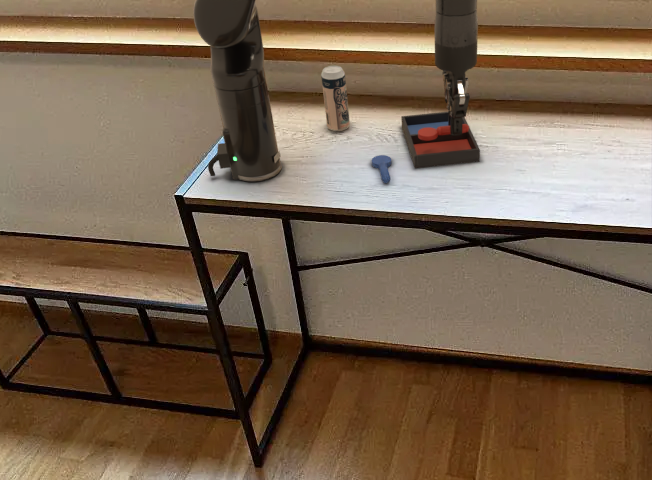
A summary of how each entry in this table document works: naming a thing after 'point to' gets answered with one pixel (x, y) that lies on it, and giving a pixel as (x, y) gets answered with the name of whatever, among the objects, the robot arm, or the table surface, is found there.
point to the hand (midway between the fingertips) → (455, 131)
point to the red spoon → (437, 132)
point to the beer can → (335, 98)
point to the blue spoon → (382, 166)
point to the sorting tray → (438, 142)
